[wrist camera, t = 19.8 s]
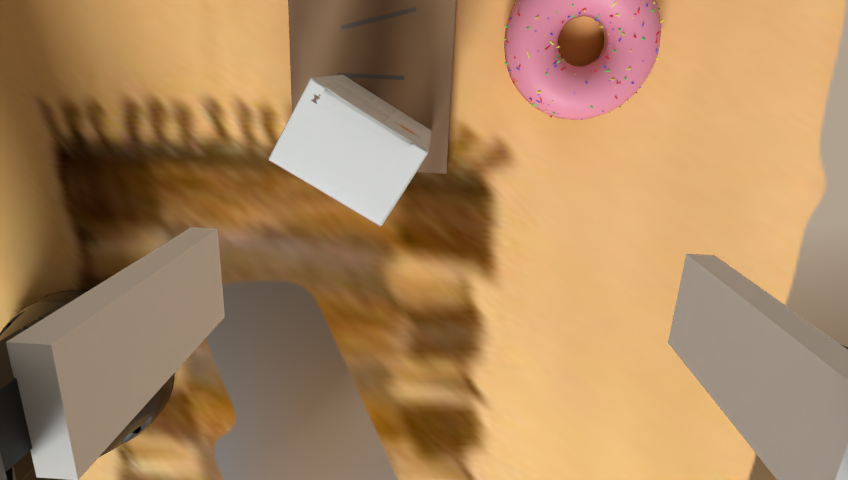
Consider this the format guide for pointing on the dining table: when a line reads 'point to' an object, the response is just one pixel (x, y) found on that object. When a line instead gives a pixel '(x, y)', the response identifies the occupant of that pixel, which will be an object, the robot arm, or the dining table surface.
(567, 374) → the dining table surface
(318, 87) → the small box
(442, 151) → the board
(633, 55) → the doughnut
